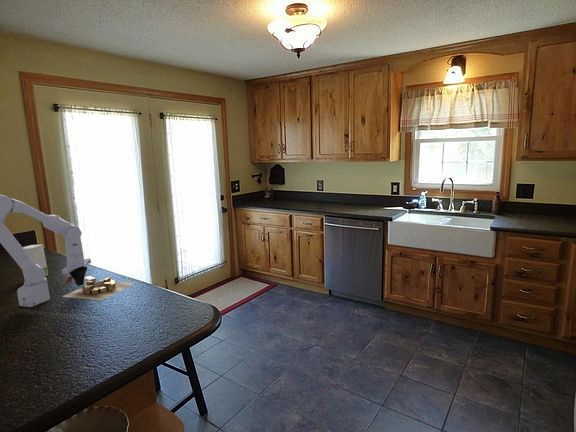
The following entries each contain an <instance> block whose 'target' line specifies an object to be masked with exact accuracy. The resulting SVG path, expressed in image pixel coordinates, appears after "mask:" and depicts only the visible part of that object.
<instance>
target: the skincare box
mask: <svg viewBox="0 0 576 432" xmlns="http://www.w3.org/2000/svg"><path fill="white" fill-rule="evenodd" d="M22 248H23V249H24V250H25V251H26V253H27V254H28V255H29V256H30V258H31V259H32V260H33V261H34V262H35V263H38V264H39V265H40V266H41V267H42V269H43V270H44V271H45V273H46V275H45V277H46V276H48V275H49V271H48V265H47V259H46V255H45V249H44V244H31V245H26V246H22ZM23 278H24V279H23V280H24V281H25V280H26V278H25V276H24V275H23Z"/></svg>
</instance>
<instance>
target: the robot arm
mask: <svg viewBox="0 0 576 432" xmlns="http://www.w3.org/2000/svg"><path fill="white" fill-rule="evenodd" d="M10 211H11V212H12V213H22V214H24V215H26V216H29V217H31V218H32V219H34V220H37V221H39V222H41V223H42V226H43V228H45V229H48V230H50V231H52V232H54V233H56V234H58V235H62V236H63V237H64V243H65V244H64V245H65V251H66V259H67V258H68V264H69V265H68V266H65V267H64V268H63V269H61V273H62V275H68V274H70V275H71V276H72V277H73V281H74V282H75V284H76V286H77V287H79V286H81V287H83V286H84V285H85V279H84V277H86V272H87V270H88V267H87V266H88V265H89V264H91V263H92V260H91V258H85V257H84V250H83V243H82V237H81V236H82V233H83V231H81V229H80V228H79V227H78V226H76V225H74V223H72V222H71V221H66V220H65V219H63V218H61V216H60V215H58V214H49V215H48V214H46V213H44V212H43V211H40V210H39V209H36V208H34V207H32V206H31V205H29V204H27V203H25V202H24V201H20V200H17V199H15V198H12V197H8V196H7V195H4V194H2V193H1V194H0V244H1V246H2V247H3V248H4V249H5V250H6V252H7V253H8V254H9V256H11V258H12V259H13V260H14V261H15V263H17V265H18V267H19V268H20V269H21V270H22V274H23V277H24V276H25V278H26V280H24V281H23V285H21V286H20V287H18V289H17V291H16V294H17V295H16V296H17V300H18V305H19V306H20V307H26V308H31V307H34V306H35V307H36V306H37V305H40V304H42V303H45V302H47V301H49V300H50V299H51V297H50V291H49V286H48V280H47V279H48V278H47V277H46V276H47V275H46V273H45V271H44V270H43V269H42V267H41V266H40V265H39V264H38V263H35V262H34V261H33V260H32V259H31V258H30V256H29V255H28V254H27V253H26V251H25V250H24V249H23V246H22V245H21V244H20V242H19V241H18V240H17V238H16V237H14V235H13V233H12V232H11V231H10V230H9V229H8V228H7V226H6V225H5V224H4V222H5V219H6V216H7V215H8V213H10ZM45 275H46V276H45ZM26 308H23V309H26Z"/></svg>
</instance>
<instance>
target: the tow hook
mask: <svg viewBox="0 0 576 432" xmlns="http://www.w3.org/2000/svg"><path fill="white" fill-rule="evenodd" d="M66 265H67V266H68V265H69V264H68V258H67V257H66ZM67 266H66V267H67ZM64 280H65V281H71V282H72V281H74V279H73V277H72V276H71V275H70V274H67V276H66V277H65V279H64Z"/></svg>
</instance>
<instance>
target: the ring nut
mask: <svg viewBox="0 0 576 432" xmlns="http://www.w3.org/2000/svg"><path fill="white" fill-rule="evenodd" d="M102 280H103V282H104V286H101V287H94V282H95V281H97V279H96V277H94V276H91V275H88V276H85V277H84V284H83V285H82V286H81V288H82V291H83V293H84V294H85V295H91V294H92V295H96V294H99V293H101V294H102V293H105V292H107V291H111V290H113V288H115V287H116V284H115V282H116V280H113V279H112V278H111V277H105V278H103V279H102Z"/></svg>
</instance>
